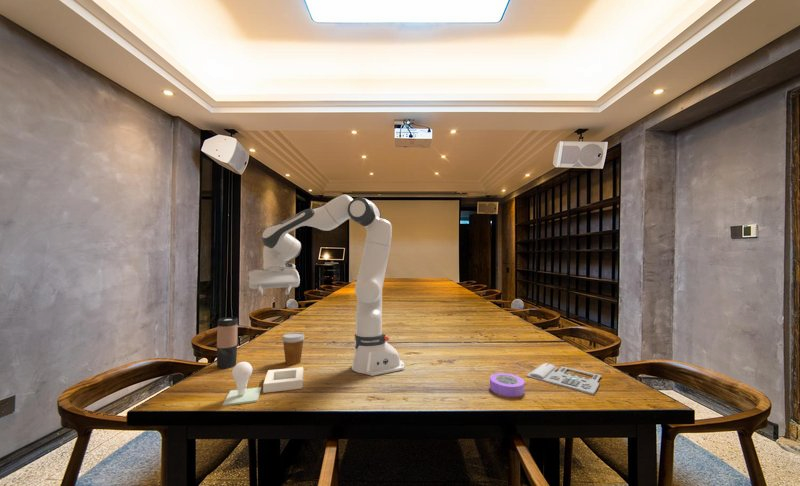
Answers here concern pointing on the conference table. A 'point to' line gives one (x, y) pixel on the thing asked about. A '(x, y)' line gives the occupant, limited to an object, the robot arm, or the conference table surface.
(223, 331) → the travel mug
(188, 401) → the conference table surface
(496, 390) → the masking tape
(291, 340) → the disposable coffee cup
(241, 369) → the lightbulb
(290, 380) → the block
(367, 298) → the robot arm
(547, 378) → the office telephone
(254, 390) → the pad
